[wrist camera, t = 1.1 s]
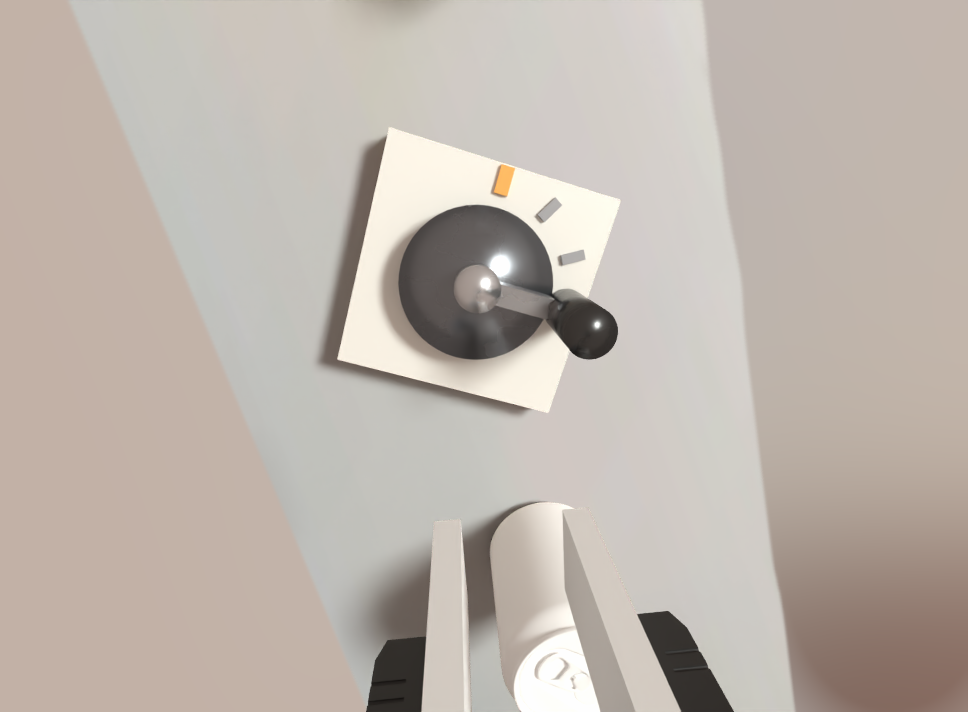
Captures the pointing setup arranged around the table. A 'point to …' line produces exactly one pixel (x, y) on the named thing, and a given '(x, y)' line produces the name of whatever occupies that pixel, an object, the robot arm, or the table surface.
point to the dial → (492, 288)
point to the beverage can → (537, 614)
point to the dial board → (423, 195)
